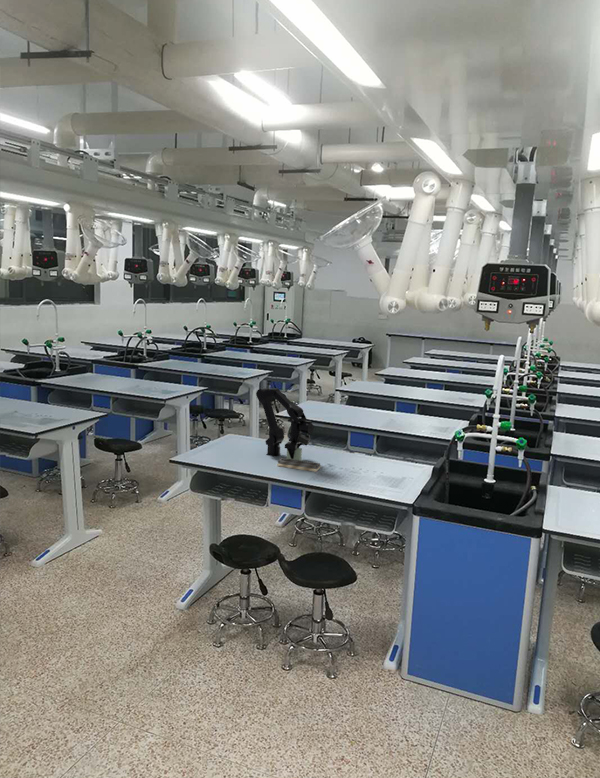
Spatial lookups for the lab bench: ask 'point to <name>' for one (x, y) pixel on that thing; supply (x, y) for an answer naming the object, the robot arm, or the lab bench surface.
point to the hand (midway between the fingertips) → (294, 457)
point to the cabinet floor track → (299, 464)
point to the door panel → (296, 454)
